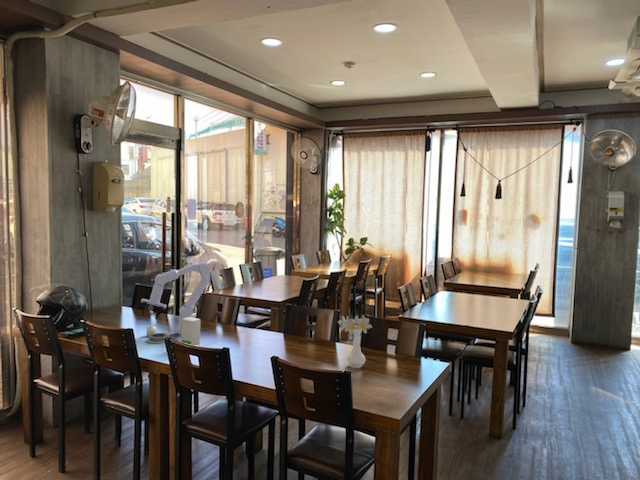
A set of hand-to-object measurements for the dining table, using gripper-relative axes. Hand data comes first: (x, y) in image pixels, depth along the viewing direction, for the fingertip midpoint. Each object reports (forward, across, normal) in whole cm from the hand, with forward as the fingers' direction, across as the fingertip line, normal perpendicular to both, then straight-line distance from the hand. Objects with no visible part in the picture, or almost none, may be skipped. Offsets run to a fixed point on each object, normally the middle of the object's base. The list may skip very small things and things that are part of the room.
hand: (150, 317), depth 282 cm
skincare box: (+6, +31, -19) cm, 37 cm away
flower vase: (-12, +116, -44) cm, 125 cm away
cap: (+10, +4, +1) cm, 11 cm away
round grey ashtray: (+10, +11, -9) cm, 17 cm away
